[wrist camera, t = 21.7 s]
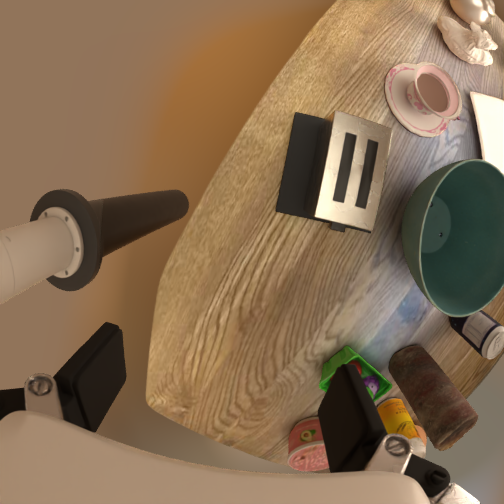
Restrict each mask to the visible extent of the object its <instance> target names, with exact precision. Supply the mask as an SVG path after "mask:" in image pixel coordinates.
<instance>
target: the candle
mask: <svg viewBox="0 0 504 504" xmlns="http://www.w3.org/2000/svg"><path fill="white" fill-rule="evenodd" d="M389 371H390V373H391V375H392V377H393V378H394V380H395V382H396V383H397V385H398V386H399V388H400V390H401V391H402V393H403V394H404V396H405V397H406V399H407V401H408V402H409V404H410V406H411V407H412V409H413V411H414V413H415V414H416V416H417V418H418V419H419V421H420V423H421V424H422V426H423V428H424V430H425V432H426V433H427V435H428V437H429V439H430V441H431V442H432V444H433V445H434V447H435V448H436V449H439V450H440V451H444V450H446V449H448V448H451V447H452V446H453V444H454V443H455V442H457V441H458V440H459V439H460V438H462V437H463V435H464V434H465V433H466V432H468V431H469V430H470V429H471V428H472V427H473V426H474V425H475V424H476V422H477V419H478V415H477V413H476V412H475V411H474V409H473V408H472V407H471V406H470V404H469V403H468V402H467V400H466V399H465V398H464V397H463V395H462V394H461V393H460V392H459V390H458V389H457V388H456V387H455V385H454V384H453V383H452V382H451V380H450V379H449V378H448V376H447V375H446V374H445V373H444V372H443V370H442V369H441V368H440V367H439V366H438V364H437V363H436V362H435V361H434V360H433V358H432V357H431V356H430V355H429V354H428V353H427V352H426V350H425V349H424V348H422V347H420V346H410V347H406V348H405V349H403V350H401V351H399V352H398V353H395V354H394V355H393V356H392V358H391V360H390V364H389Z"/></svg>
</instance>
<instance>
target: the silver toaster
mask: <svg viewBox="0 0 504 504" xmlns="http://www.w3.org/2000/svg"><path fill="white" fill-rule="evenodd" d="M391 137H392V129H391V128H388V127H386V126H383V125H380V124H378V123H375V122H372V121H369V120H366V119H363V118H360V117H357V116H354V115H351V114H347V113H344V112H341V111H337V110H335V111H334V112H333V113H332V114H331V115H330V116H329V117H328V118H327V119H326V120H325V121H324V122H323V123H322V124H321V125H320V127H319V132H318V138H317V143H316V148H315V153H314V159H313V164H312V169H311V174H310V179H309V183H308V188H307V193H306V198H305V202H304V207H303V209H304V210H305V211H307V212H308V213H309V214H311V215H312V216H313V217H315V218H319V219H324V220H328V221H330V222H329V226H328V228H330V229H332V230H336V231H340V232H345V228H346V225H349V226H353V227H357V228H361V229H365V230H369V231H373V228H374V224H375V220H376V216H377V212H378V208H379V203H380V198H381V194H382V189H383V184H384V179H385V174H386V168H387V162H388V156H389V150H390V144H391Z"/></svg>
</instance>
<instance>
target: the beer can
mask: <svg viewBox="0 0 504 504" xmlns="http://www.w3.org/2000/svg"><path fill="white" fill-rule="evenodd" d="M377 410H378V413H379V415H380V417H381V419H382V422H383V424H384V426H385V428H386V431H387V433H388V434H392V433H397V434H401V435H403V436H405V437H407V438H408V439H409V440H410V441H411V443H412V446H413V452H412V453H413V454H415V455H417V456H419V457H421V458H424V457H425V455H426V453H425V451H426V447H425V445H424V443H423V441H422V439H421V437H420V435H419V433H418V431H417V429H416V427H415V425H414V423H413V421H412V419H411V417H410V415H409V413H408V411H407V410H406V408H405V406H404V404H403V402H402V400H400V399H397V398H389V399H387V400H385V401H383V402H382V403H381V404H380V405H379V406H378V407H377Z"/></svg>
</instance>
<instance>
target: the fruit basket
mask: <svg viewBox="0 0 504 504" xmlns="http://www.w3.org/2000/svg"><path fill="white" fill-rule="evenodd" d="M342 364H355V365H356V367H357V369H358V371H359V373H360V375H361V377H362V379H363V381H364V383H365V386H366V388H367V390H368V392H369V394H370V395H371V397H372V399H373V402H375V401H376V400H377V399H379V398H380V397H381V396H383V395H384V394H386V393H387V392H388V391H389V390H390V389H391V388H392V384H391V383H390V382H389V381H388V380H387V379H386V378H385V377H383V376H382V375H381V374H380V373H379V372H378V371H377V370H376V369H375V368H374V367H372V366H371V365H370V364H369V363H368V362H367V361H365V360H364V359H363V358H362V357H361V356H360V355H359V354H357V353H355V352H354V351H353V350H352V349H351V348H350V347H349V346H345V347H344V348H343V350H341V351H339V352H338V353H337V354H336V355H334V356H333V357H332V358H331V359H330V360H329V362H326V363H324V364H323V369H322V376H321V380H320V383H319V388H320V389H322V390H323V391H325V392H327V389H328V387H329V385H330V383H331V380H332V378H333V376H334V373H335V371H336V369H337V367H340V366H341V365H342Z"/></svg>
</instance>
